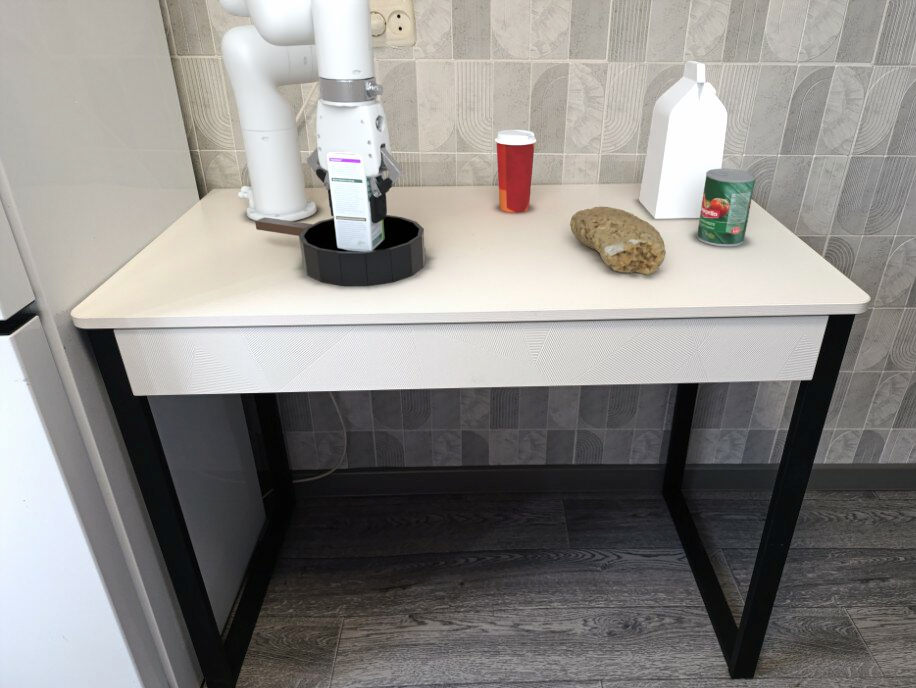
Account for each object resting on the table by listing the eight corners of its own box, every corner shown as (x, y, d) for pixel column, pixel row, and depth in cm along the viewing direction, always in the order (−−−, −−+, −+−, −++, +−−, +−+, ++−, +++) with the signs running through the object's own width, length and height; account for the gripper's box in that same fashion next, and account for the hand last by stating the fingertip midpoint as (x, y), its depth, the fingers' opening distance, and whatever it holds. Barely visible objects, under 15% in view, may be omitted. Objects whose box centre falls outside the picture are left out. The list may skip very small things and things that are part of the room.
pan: (225, 265, 107) (219, 234, 104) (298, 230, 122) (294, 202, 119) (387, 294, 98) (384, 260, 95) (444, 252, 113) (443, 222, 110)
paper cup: (541, 206, 135) (544, 131, 128) (521, 216, 129) (522, 138, 122) (507, 200, 139) (508, 127, 132) (486, 209, 133) (486, 133, 126)
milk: (638, 200, 139) (654, 58, 126) (695, 199, 140) (716, 58, 127) (654, 218, 129) (673, 66, 116) (715, 217, 130) (740, 66, 117)
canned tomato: (752, 238, 119) (764, 174, 114) (730, 250, 114) (742, 183, 109) (710, 228, 124) (720, 166, 118) (687, 239, 119) (697, 174, 113)
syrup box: (372, 252, 104) (365, 154, 97) (335, 249, 105) (325, 151, 98) (385, 240, 109) (379, 145, 102) (349, 236, 110) (341, 142, 103)
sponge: (671, 283, 105) (644, 217, 120) (671, 239, 100) (643, 176, 114) (585, 298, 106) (569, 231, 121) (580, 255, 101) (564, 190, 115)
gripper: (416, 92, 96) (421, 218, 105) (311, 81, 101) (324, 202, 111) (389, 100, 90) (397, 233, 99) (278, 89, 95) (295, 216, 105)
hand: (358, 216), depth 105 cm, fingers closed on syrup box, 6 cm apart
